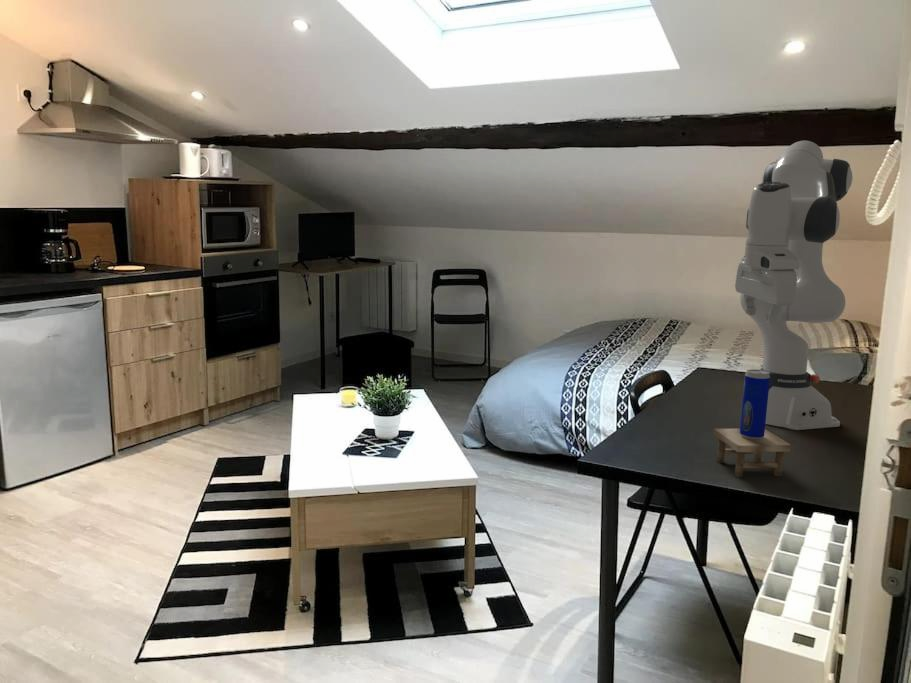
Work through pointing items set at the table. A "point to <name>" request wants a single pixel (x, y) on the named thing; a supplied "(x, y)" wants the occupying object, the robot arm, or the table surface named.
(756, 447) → the stool
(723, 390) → the table surface
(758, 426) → the beverage can
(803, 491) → the table surface
